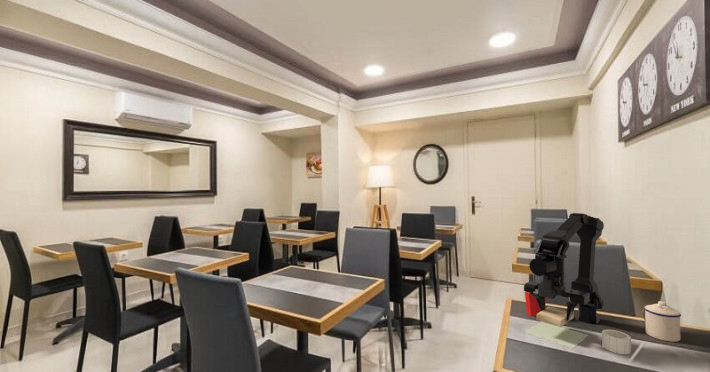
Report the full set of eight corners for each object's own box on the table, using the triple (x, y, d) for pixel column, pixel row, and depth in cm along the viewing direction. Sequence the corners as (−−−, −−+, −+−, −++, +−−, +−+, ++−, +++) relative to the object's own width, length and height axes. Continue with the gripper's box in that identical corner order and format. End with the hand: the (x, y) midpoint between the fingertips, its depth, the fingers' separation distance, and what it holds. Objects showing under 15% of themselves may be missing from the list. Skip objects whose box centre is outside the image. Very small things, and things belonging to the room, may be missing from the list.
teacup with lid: (689, 342, 105) (689, 306, 105) (661, 342, 105) (661, 307, 105) (655, 326, 117) (654, 294, 117) (630, 326, 117) (629, 294, 117)
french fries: (540, 312, 131) (539, 280, 131) (549, 316, 127) (548, 283, 127) (521, 315, 128) (521, 282, 129) (530, 319, 124) (529, 285, 124)
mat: (541, 322, 121) (541, 321, 121) (588, 336, 109) (588, 335, 109) (524, 333, 112) (524, 331, 112) (573, 349, 101) (573, 348, 101)
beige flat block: (550, 311, 117) (550, 305, 117) (573, 317, 112) (573, 311, 112) (536, 319, 110) (536, 314, 110) (560, 327, 104) (560, 320, 104)
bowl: (606, 343, 105) (605, 327, 105) (633, 351, 100) (632, 335, 100) (599, 349, 101) (599, 333, 101) (627, 358, 95) (627, 341, 95)
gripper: (516, 270, 113) (516, 314, 113) (577, 282, 99) (578, 332, 99) (530, 265, 120) (530, 307, 120) (589, 275, 106) (590, 323, 105)
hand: (555, 316), depth 111 cm, fingers closed on beige flat block, 7 cm apart
